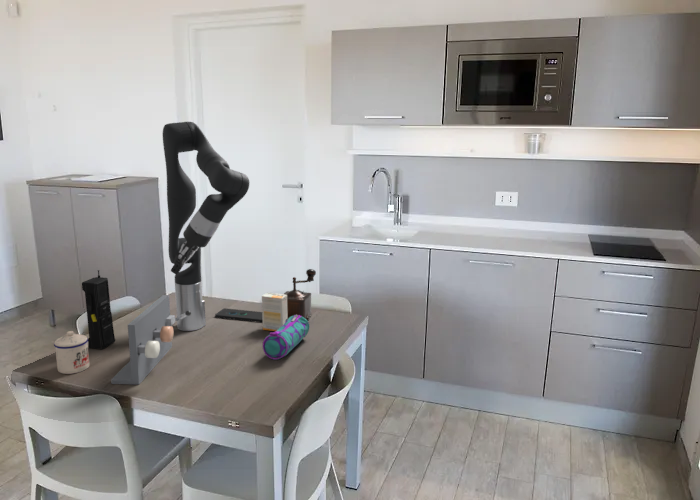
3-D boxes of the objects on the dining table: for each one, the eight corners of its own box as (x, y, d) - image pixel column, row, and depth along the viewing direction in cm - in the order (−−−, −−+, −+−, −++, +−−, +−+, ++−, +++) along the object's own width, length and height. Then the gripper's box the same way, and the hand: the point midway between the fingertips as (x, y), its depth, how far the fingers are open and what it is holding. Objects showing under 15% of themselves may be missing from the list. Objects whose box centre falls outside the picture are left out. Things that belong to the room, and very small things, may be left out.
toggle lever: (192, 313, 176) (189, 308, 176) (191, 315, 175) (188, 310, 174) (177, 321, 177) (174, 316, 177) (175, 323, 175) (172, 318, 175)
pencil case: (286, 336, 192) (286, 310, 189) (309, 339, 189) (309, 313, 187) (261, 360, 172) (260, 331, 170) (287, 363, 170) (287, 335, 168)
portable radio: (101, 351, 176) (95, 277, 170) (85, 349, 177) (78, 275, 171) (116, 341, 183) (110, 270, 178) (100, 340, 185) (94, 269, 179)
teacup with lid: (78, 375, 159) (74, 338, 156) (50, 373, 160) (45, 336, 157) (102, 358, 170) (98, 323, 168) (75, 356, 171) (71, 322, 169)
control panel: (176, 346, 180) (173, 295, 176) (144, 384, 154) (140, 325, 150) (148, 346, 181) (144, 294, 177) (111, 383, 154) (106, 324, 150)
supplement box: (288, 328, 198) (288, 294, 196) (282, 333, 194) (282, 298, 191) (268, 325, 201) (267, 291, 198) (262, 329, 197) (261, 295, 194)
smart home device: (224, 307, 216) (271, 312, 211) (224, 311, 216) (271, 316, 212) (214, 314, 208) (263, 319, 203) (214, 318, 208) (263, 323, 204)
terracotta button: (173, 338, 168) (173, 323, 167) (168, 344, 163) (167, 329, 162) (151, 337, 168) (150, 323, 167) (145, 344, 163) (144, 329, 162)
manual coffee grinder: (305, 324, 202) (305, 278, 198) (277, 321, 205) (276, 276, 201) (317, 311, 217) (317, 268, 213) (291, 308, 220) (291, 266, 216)
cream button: (160, 353, 157) (159, 338, 156) (153, 360, 152) (152, 344, 151) (136, 353, 157) (135, 337, 156) (129, 360, 152) (128, 344, 151)
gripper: (199, 214, 163) (172, 257, 168) (182, 226, 150) (153, 272, 156) (220, 228, 164) (193, 271, 169) (205, 241, 151) (175, 287, 157)
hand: (174, 272), depth 162 cm, fingers closed
